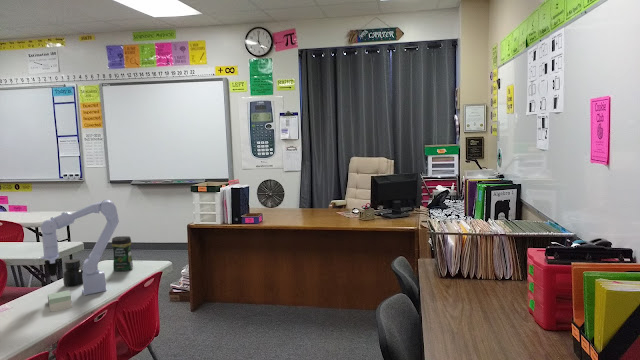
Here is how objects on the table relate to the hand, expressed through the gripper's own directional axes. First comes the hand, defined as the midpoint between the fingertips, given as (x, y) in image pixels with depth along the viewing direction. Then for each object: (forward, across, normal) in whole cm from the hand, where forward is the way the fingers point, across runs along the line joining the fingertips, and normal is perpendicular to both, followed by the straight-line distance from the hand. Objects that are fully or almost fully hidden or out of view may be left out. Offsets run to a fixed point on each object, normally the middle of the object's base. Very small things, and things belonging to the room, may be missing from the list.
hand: (53, 275), depth 202 cm
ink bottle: (+11, -16, +9) cm, 21 cm away
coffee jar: (+10, -27, +34) cm, 45 cm away
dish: (+10, +15, +1) cm, 18 cm away
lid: (+7, +14, +1) cm, 16 cm away
